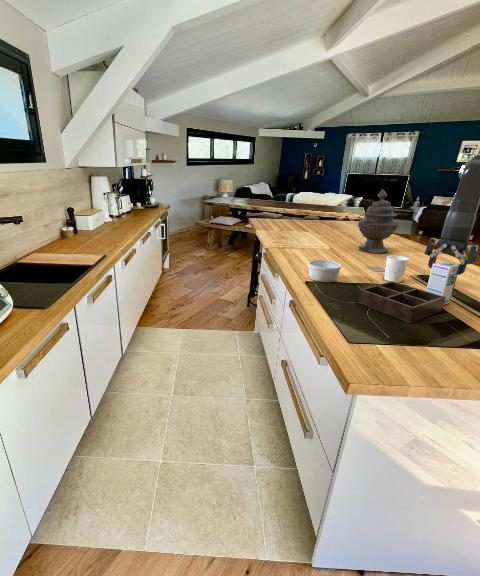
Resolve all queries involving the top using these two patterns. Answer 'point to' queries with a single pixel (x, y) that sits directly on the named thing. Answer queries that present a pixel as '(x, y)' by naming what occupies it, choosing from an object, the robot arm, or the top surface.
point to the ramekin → (324, 270)
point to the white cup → (395, 268)
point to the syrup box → (443, 279)
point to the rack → (401, 301)
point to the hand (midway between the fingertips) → (444, 270)
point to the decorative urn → (377, 225)
